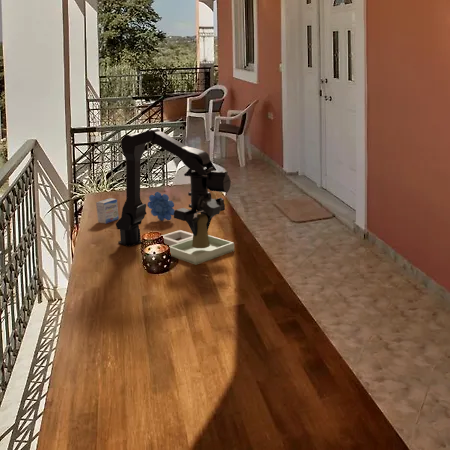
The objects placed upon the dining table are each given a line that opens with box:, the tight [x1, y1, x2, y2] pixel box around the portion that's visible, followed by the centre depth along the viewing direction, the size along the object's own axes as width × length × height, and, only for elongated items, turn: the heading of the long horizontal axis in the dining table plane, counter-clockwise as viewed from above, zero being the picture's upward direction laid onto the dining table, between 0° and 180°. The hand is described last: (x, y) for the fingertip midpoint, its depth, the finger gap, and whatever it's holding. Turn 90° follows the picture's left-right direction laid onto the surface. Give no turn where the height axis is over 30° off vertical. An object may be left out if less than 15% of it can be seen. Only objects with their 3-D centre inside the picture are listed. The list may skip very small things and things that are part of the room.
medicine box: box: [95, 197, 120, 225], centre depth 235 cm, size 8×4×9 cm, turn 147°
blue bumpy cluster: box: [147, 191, 176, 222], centre depth 233 cm, size 12×7×12 cm, turn 77°
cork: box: [192, 213, 210, 248], centre depth 195 cm, size 6×6×11 cm
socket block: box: [161, 229, 193, 246], centre depth 208 cm, size 10×10×2 cm
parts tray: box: [169, 234, 235, 266], centre depth 197 cm, size 18×14×3 cm
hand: (200, 234), depth 195 cm, fingers closed on cork, 4 cm apart
